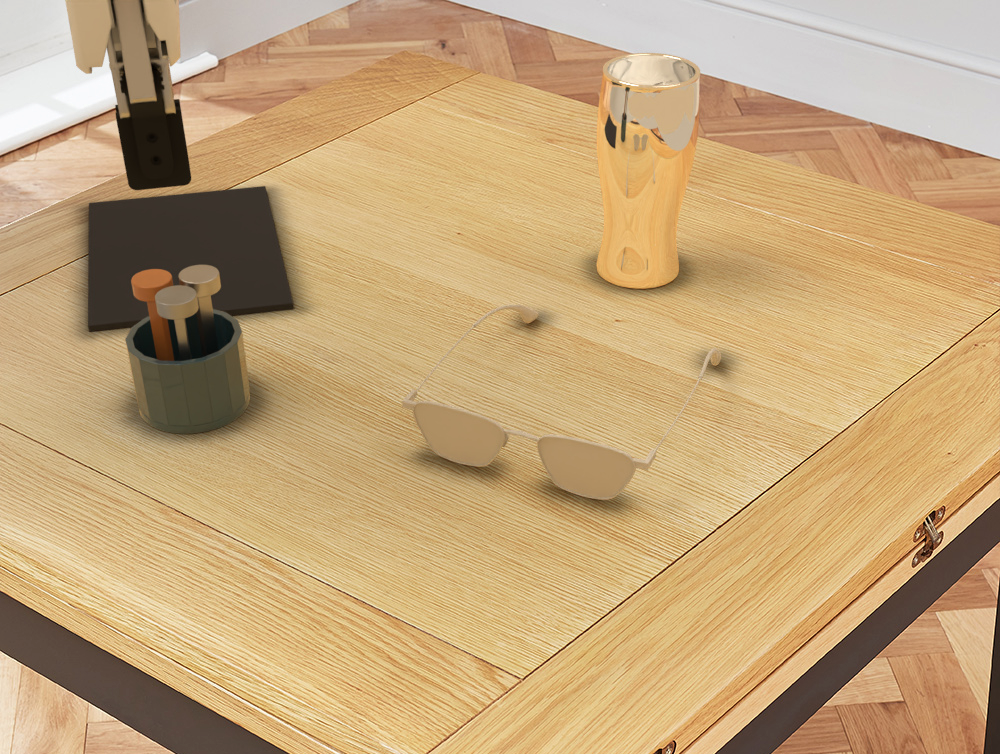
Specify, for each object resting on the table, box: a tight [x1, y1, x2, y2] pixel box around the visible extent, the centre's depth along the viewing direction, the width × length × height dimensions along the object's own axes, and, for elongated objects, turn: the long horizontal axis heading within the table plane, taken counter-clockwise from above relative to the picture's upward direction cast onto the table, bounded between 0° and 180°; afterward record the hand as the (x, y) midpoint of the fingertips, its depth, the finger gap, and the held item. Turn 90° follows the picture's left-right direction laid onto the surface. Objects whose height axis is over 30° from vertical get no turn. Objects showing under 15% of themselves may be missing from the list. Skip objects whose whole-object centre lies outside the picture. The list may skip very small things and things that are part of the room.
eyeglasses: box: [401, 304, 722, 501], centre depth 84 cm, size 15×18×4 cm
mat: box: [87, 185, 295, 333], centre depth 101 cm, size 20×14×1 cm
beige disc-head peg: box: [179, 265, 221, 357], centre depth 83 cm, size 2×2×8 cm
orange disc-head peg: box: [131, 269, 174, 361], centre depth 83 cm, size 2×2×8 cm
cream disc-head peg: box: [155, 285, 199, 361], centre depth 81 cm, size 2×2×8 cm
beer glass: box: [596, 52, 701, 290], centre depth 95 cm, size 7×7×15 cm
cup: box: [124, 309, 251, 435], centre depth 84 cm, size 7×7×5 cm
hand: (160, 180), depth 71 cm, fingers closed
